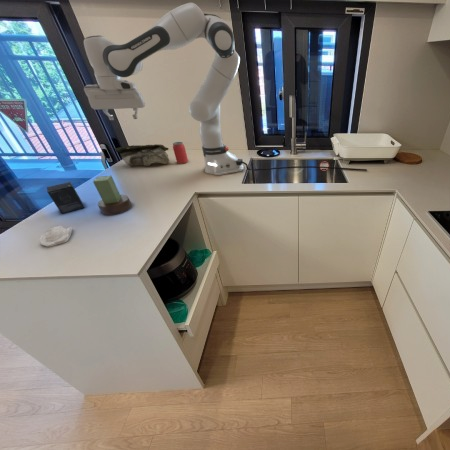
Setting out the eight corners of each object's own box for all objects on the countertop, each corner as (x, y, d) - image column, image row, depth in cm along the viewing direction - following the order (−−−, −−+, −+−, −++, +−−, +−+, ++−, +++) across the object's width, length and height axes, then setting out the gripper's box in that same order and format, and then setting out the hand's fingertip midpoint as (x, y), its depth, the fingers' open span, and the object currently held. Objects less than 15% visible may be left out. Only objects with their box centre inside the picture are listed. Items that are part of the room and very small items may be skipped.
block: (121, 197, 105) (111, 175, 99) (118, 202, 101) (107, 180, 95) (107, 198, 103) (97, 176, 98) (104, 204, 99) (92, 181, 94)
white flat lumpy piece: (76, 224, 86) (43, 239, 78) (82, 234, 88) (51, 250, 81) (60, 218, 89) (26, 232, 82) (66, 228, 92) (34, 242, 84)
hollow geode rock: (124, 174, 148) (110, 162, 134) (123, 155, 150) (109, 142, 136) (173, 168, 154) (165, 157, 140) (171, 150, 156) (162, 137, 142)
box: (83, 203, 108) (70, 181, 102) (84, 208, 104) (72, 185, 98) (60, 209, 103) (46, 186, 97) (61, 214, 100) (46, 191, 94)
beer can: (190, 160, 155) (185, 141, 149) (185, 164, 150) (180, 144, 143) (180, 160, 156) (175, 141, 149) (175, 163, 151) (169, 144, 144)
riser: (134, 201, 110) (131, 193, 108) (129, 212, 101) (125, 204, 99) (106, 204, 107) (102, 196, 105) (98, 217, 98) (93, 208, 96)
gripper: (78, 85, 96) (94, 122, 104) (136, 84, 102) (147, 119, 110) (84, 84, 101) (99, 119, 109) (139, 83, 107) (150, 117, 115)
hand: (124, 119), depth 109 cm, fingers open, 8 cm apart
